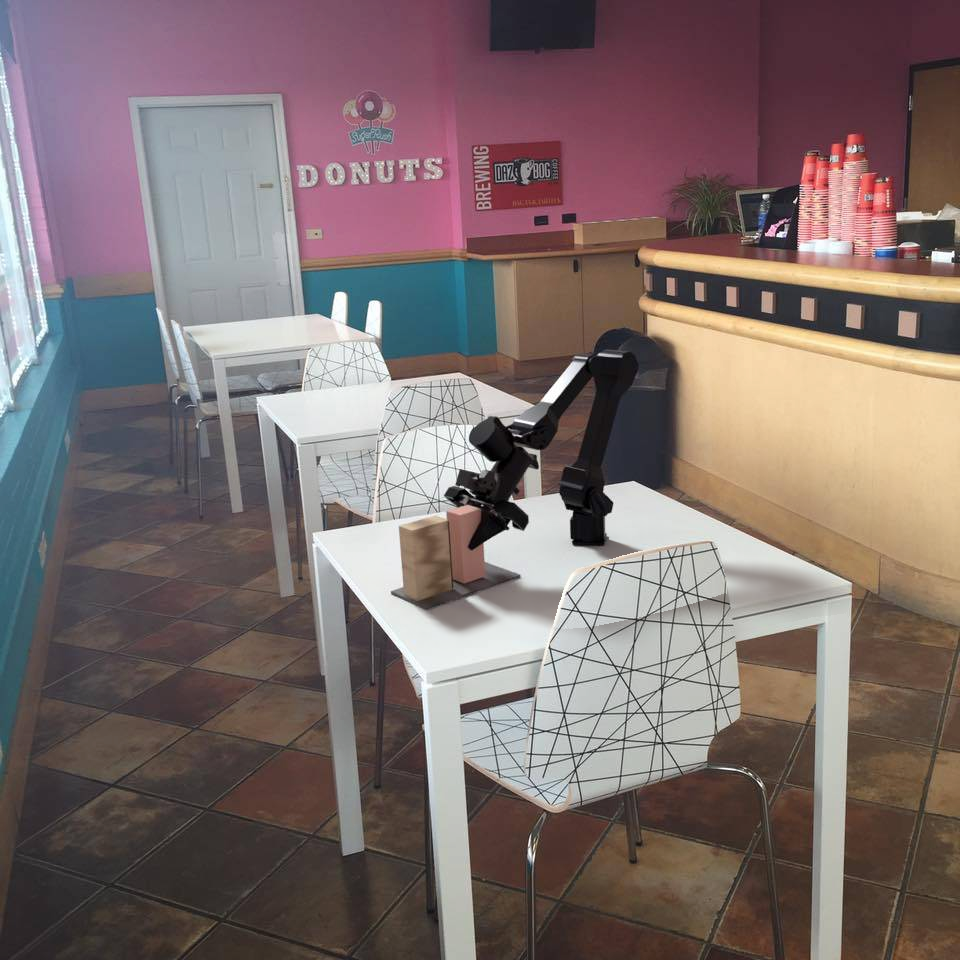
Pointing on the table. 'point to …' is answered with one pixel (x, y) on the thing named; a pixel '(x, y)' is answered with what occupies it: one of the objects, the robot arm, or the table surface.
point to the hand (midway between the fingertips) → (462, 546)
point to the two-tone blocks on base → (437, 566)
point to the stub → (465, 544)
